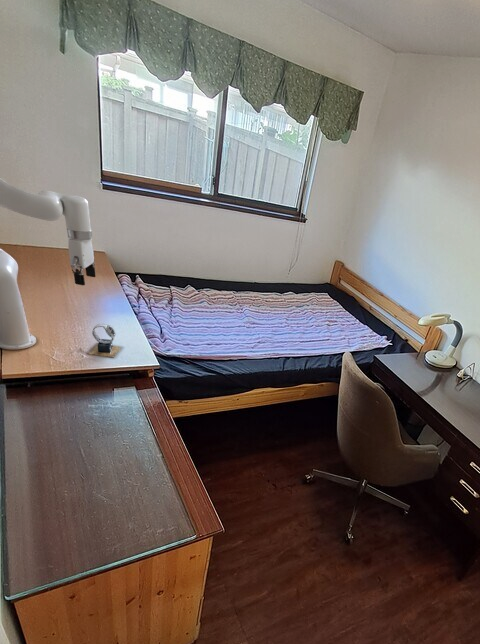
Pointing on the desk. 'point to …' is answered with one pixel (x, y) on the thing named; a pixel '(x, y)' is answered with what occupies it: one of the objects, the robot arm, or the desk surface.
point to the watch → (104, 344)
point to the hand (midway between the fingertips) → (85, 280)
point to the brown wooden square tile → (95, 352)
